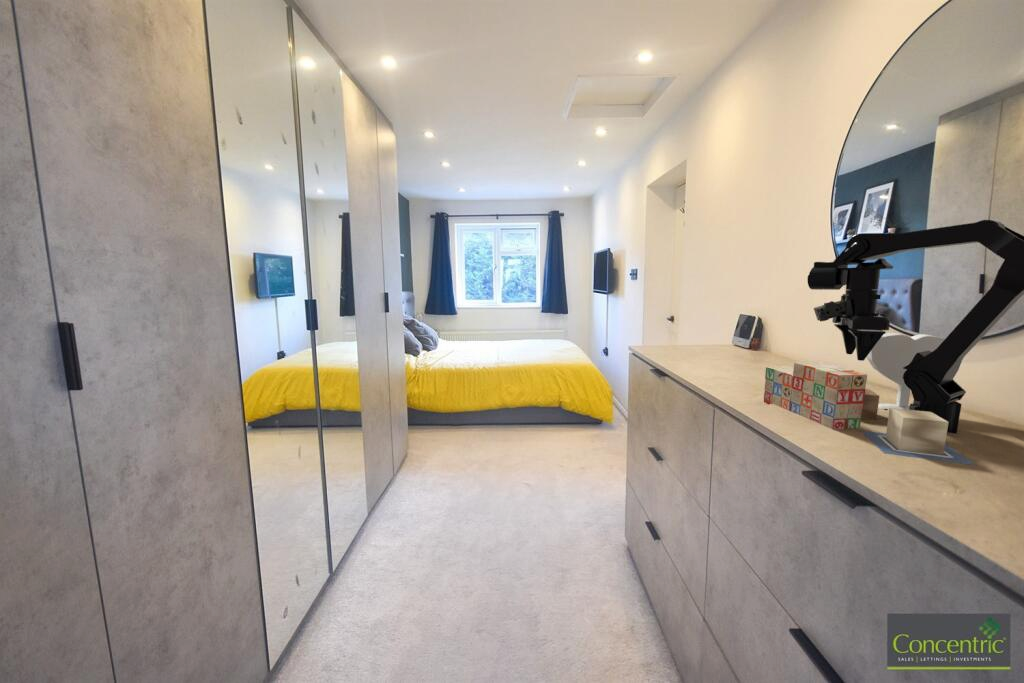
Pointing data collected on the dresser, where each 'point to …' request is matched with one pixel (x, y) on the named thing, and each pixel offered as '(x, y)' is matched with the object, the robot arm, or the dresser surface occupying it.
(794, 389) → the stack of blocks
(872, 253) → the robot arm
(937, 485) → the dresser surface
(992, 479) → the dresser surface
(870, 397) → the walnut block
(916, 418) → the beech block
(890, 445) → the board
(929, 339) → the heart sculpture
